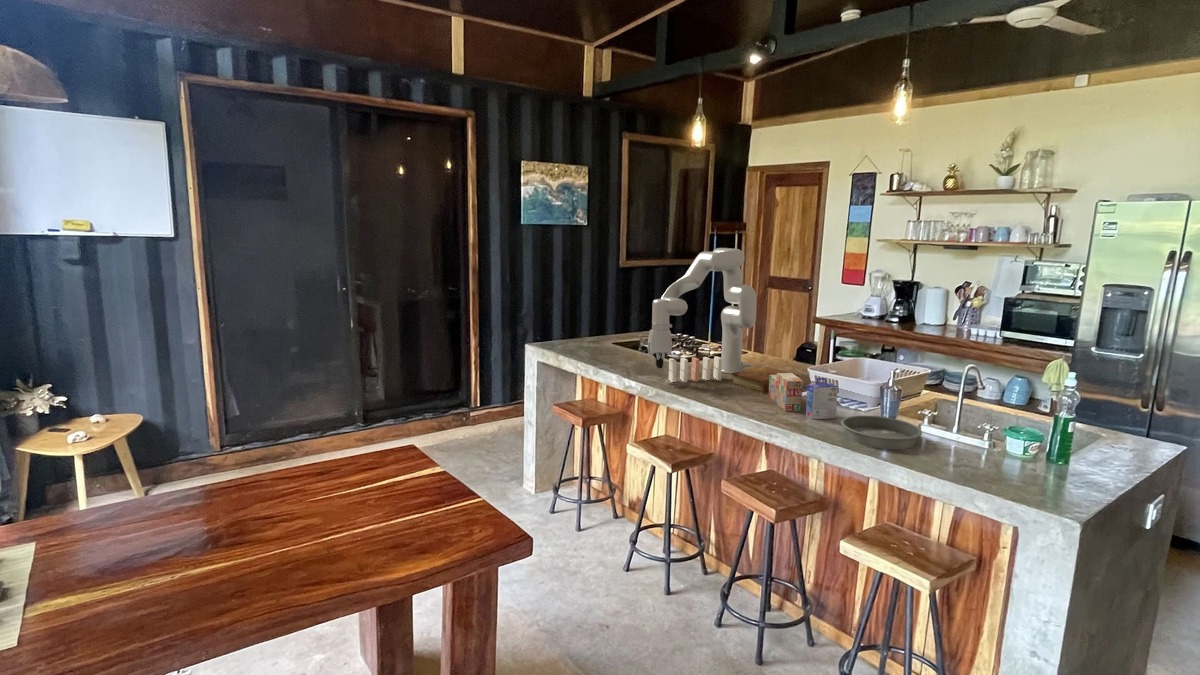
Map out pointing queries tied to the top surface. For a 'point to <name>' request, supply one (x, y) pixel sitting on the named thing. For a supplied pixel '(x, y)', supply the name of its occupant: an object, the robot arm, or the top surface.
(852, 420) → the cake pan
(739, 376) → the diary
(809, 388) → the ink cartridge box
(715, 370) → the end domino
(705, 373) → the domino
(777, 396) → the stack of blocks
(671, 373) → the head domino
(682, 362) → the domino
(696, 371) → the terracotta domino
